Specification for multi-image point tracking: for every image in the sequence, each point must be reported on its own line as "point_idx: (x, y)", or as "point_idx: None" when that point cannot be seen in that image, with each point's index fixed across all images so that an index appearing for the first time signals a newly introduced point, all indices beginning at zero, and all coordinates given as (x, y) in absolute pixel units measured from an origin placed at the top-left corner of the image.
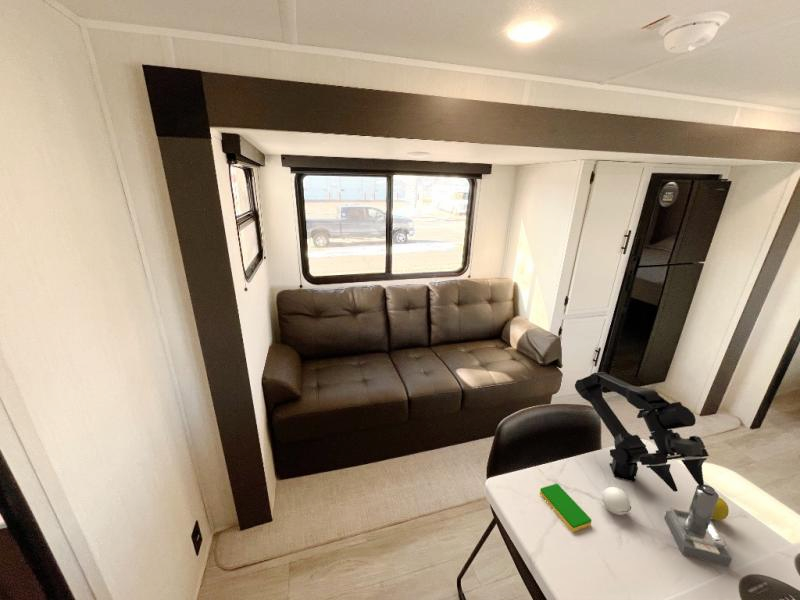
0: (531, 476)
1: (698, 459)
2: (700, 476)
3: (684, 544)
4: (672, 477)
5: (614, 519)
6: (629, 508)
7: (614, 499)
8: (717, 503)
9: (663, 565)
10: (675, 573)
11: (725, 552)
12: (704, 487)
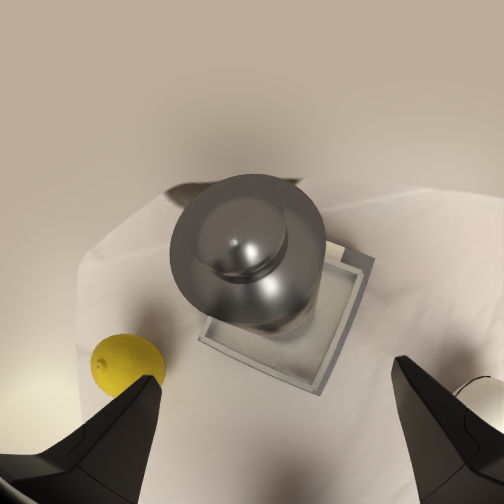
0: None
1: (21, 491)
2: (117, 415)
3: (372, 262)
4: (442, 422)
5: None
6: (466, 389)
7: None
8: (121, 356)
9: (437, 244)
10: (421, 224)
11: None
12: (270, 233)
